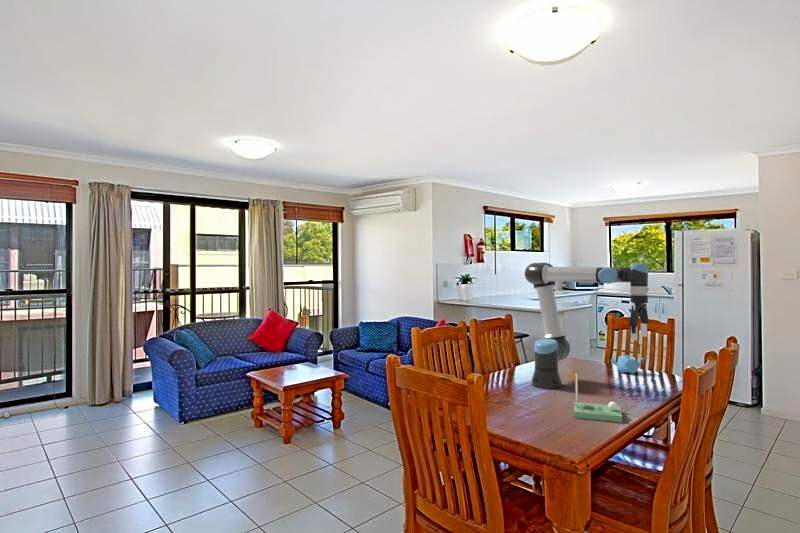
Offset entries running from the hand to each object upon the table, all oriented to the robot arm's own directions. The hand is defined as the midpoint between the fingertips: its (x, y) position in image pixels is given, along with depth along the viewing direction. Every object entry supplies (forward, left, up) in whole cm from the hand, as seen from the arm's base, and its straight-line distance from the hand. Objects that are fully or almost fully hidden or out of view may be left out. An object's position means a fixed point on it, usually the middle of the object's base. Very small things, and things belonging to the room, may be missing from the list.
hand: (639, 338), depth 226 cm
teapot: (-2, +44, -27) cm, 52 cm away
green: (-21, -42, -27) cm, 54 cm away
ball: (-13, -42, -22) cm, 49 cm away
